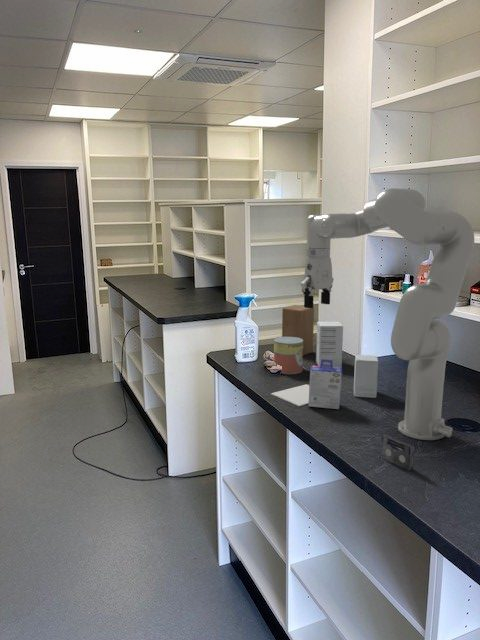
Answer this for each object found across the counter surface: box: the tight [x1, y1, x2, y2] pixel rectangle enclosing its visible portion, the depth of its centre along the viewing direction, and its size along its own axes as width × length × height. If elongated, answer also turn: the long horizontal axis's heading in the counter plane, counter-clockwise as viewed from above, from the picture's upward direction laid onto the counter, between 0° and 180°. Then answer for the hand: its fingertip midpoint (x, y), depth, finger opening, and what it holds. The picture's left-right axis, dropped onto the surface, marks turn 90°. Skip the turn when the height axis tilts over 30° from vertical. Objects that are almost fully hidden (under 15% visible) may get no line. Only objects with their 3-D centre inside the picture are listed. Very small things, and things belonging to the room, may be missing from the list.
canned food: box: [273, 336, 304, 375], centre depth 200 cm, size 11×11×12 cm
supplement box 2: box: [353, 354, 379, 399], centre depth 173 cm, size 7×7×13 cm
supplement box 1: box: [315, 321, 344, 368], centre depth 206 cm, size 10×9×17 cm
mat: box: [270, 384, 309, 408], centre depth 172 cm, size 14×16×1 cm
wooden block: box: [281, 304, 315, 356], centre depth 224 cm, size 10×10×20 cm
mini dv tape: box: [380, 434, 415, 472], centre depth 125 cm, size 8×2×6 cm, turn 35°
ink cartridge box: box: [307, 359, 343, 410], centre depth 161 cm, size 10×6×14 cm, turn 80°
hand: (317, 305), depth 170 cm, fingers open, 9 cm apart
